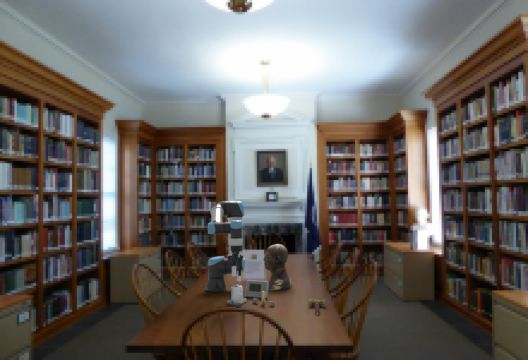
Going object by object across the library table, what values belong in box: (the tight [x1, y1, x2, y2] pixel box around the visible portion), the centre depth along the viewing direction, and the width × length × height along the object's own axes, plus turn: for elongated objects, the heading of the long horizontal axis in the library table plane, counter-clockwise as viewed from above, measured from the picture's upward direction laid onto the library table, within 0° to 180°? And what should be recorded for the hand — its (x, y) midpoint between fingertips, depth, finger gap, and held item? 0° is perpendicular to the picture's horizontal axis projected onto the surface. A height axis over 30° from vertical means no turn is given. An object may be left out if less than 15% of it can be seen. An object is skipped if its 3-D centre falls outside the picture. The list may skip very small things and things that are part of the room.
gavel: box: [307, 298, 326, 316], centre depth 227 cm, size 21×5×10 cm
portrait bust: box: [263, 243, 292, 291], centre depth 294 cm, size 21×35×31 cm, turn 174°
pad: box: [227, 301, 247, 307], centre depth 244 cm, size 8×8×1 cm
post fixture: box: [252, 291, 275, 307], centre depth 241 cm, size 15×2×8 cm, turn 58°
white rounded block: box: [226, 283, 247, 304], centre depth 244 cm, size 12×6×11 cm, turn 109°
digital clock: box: [244, 279, 269, 299], centre depth 259 cm, size 16×9×11 cm, turn 59°
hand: (236, 278), depth 245 cm, fingers open, 13 cm apart
